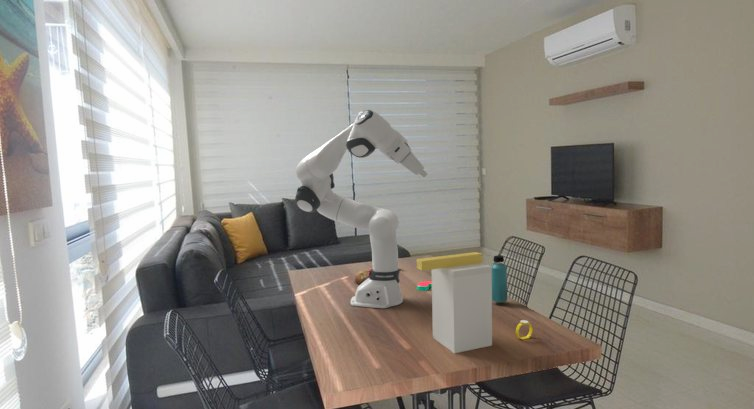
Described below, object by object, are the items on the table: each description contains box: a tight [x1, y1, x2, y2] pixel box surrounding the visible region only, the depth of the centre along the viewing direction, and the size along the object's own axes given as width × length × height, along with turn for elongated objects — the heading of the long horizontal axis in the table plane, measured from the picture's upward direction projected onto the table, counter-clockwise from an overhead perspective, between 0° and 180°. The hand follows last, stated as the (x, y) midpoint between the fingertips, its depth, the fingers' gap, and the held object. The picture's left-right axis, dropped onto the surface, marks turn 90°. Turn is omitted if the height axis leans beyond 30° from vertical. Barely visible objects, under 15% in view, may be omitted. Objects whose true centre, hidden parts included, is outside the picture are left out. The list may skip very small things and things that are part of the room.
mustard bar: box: [416, 251, 483, 272], centre depth 144 cm, size 22×4×3 cm, turn 111°
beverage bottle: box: [491, 255, 508, 303], centre depth 184 cm, size 6×7×20 cm
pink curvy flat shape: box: [416, 280, 432, 291], centre depth 213 cm, size 20×16×2 cm
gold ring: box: [515, 319, 534, 341], centre depth 148 cm, size 6×3×6 cm, turn 111°
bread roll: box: [354, 269, 369, 286], centre depth 224 cm, size 10×10×8 cm
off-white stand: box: [430, 262, 493, 354], centre depth 147 cm, size 14×14×26 cm
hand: (420, 170), depth 160 cm, fingers open, 8 cm apart
